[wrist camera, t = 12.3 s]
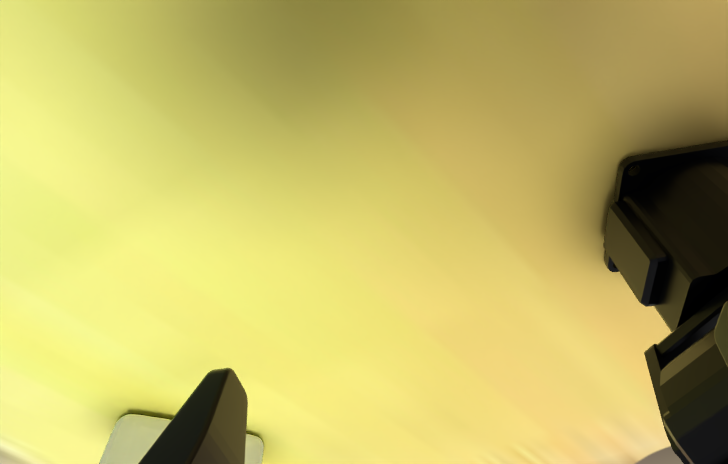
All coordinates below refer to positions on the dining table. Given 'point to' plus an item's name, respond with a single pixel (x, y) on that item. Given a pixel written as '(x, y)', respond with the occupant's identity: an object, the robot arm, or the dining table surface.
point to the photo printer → (141, 433)
